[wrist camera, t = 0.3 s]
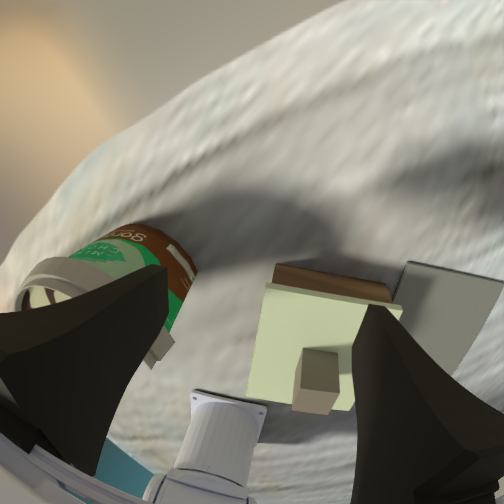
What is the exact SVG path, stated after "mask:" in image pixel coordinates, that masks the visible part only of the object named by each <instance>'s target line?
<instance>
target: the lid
mask: <svg viewBox="0 0 504 504" xmlns="http://www.w3.org/2000/svg"><path fill="white" fill-rule="evenodd" d="M369 304H375V305H381V306H385V307H386V308H387V309H388V310H389V311H390V312H391V313H392V314H393V315H394V316H395V317H396V319H397V320H398V321H399V318H400V316H401V314H402V312H403V310H402V307H401V305H396V304H390V303H384V302H377V301H371V300H365V299H359V298H353V297H347V296H341V295H336V294H330V293H324V292H318V291H313V290H307V289H302V288H296V287H291V286H285V285H280V284H274V283H269V282H266V286H265V292H264V297H263V303H262V309H261V315H260V320H259V326H258V331H257V337H256V343H255V348H254V354H253V359H252V365H251V370H250V375H249V381H248V386H247V391H246V396H248V397H253V398H258V399H264V400H269V401H275V402H281V403H287V404H292V408H291V410H292V411H299V412H306V413H314V414H323V415H328V414H329V412H330V411H331V409H334V410H345V411H349V410H350V408H351V407H352V405H353V404H354V402H355V396H354V388H353V379H352V361H351V359H352V345H353V342H354V340H355V338H356V335H357V333H358V330H359V328H360V325H361V323H362V320H363V318H364V315H365V312H366V310H367V307H368V305H369Z"/></svg>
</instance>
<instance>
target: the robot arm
mask: <svg viewBox="0 0 504 504" xmlns="http://www.w3.org/2000/svg"><path fill="white" fill-rule="evenodd" d="M168 314H169V298H168V271H167V267H165V266H160V265H156V264H150V265H148V266H145V267H143V268H140V269H138V270H136V271H134V272H132V273H129V274H127V275H125V276H123V277H121V278H119V279H117V280H114V281H112V282H110V283H108V284H106V285H103V286H101V287H99V288H96V289H94V290H91V291H89V292H87V293H84V294H82V295H79V296H76V297H74V298H71V299H67V300H64V301H61V302H58V303H55V304H50V305H46V306H42V307H38V308H34V309H29V310H23V311H17V312H9V313H0V504H86V503H84V502H82V501H81V500H79V499H77V498H76V497H74V496H73V495H71V494H69V493H68V492H67V490H66V488H67V489H69V490H71V491H72V492H74V493H76V494H78V495H80V496H81V497H83V498H85V499H87V500H89V501H91V502H93V503H95V504H257V503H256V501H255V499H254V498H253V497H249V496H248V492H249V488H246V485H247V480H248V475H249V471H250V466H251V461H252V457H253V452H254V447H255V446H256V445H257V442H258V439H259V436H260V432H261V429H262V426H263V423H264V420H265V417H266V413H267V407H266V406H263V405H257V404H252V403H247V402H242V401H238V400H233V399H228V398H224V397H220V396H216V395H211V394H207V393H204V392H200V391H196V390H193V391H191V394H190V396H191V414H192V419H191V422H190V424H189V427H188V430H187V432H186V435H185V438H184V440H183V443H182V446H181V448H180V451H179V454H178V456H177V459H176V461H175V464H174V467H173V468H172V467H170V468H169V471H168V474H165V473H159V474H158V475H155V476H153V477H152V479H151V480H150V482H149V484H148V486H147V488H146V490H145V493H144V495H143V498H142V499H140V498H137V497H135V496H132V495H130V494H127V493H125V492H123V491H120V490H118V489H115V488H114V487H111V486H109V485H107V484H105V483H103V482H101V481H99V480H97V479H94V478H92V476H94V475H95V473H96V468H97V465H98V461H99V458H100V454H101V451H102V447H103V444H104V442H105V439H106V436H107V433H108V430H109V427H110V425H111V422H112V420H113V417H114V415H115V412H116V410H117V407H118V405H119V403H120V400H121V398H122V396H123V394H124V392H125V389H126V387H127V385H128V384H129V382H130V380H131V378H132V376H133V375H134V373H135V372H136V370H137V368H138V367H139V365H140V364H141V362H142V361H143V359H144V357H145V356H146V354H147V353H148V351H149V350H150V348H151V346H152V345H153V343H154V342H155V340H156V339H157V337H158V335H159V334H160V332H161V329H162V327H163V325H164V323H165V321H166V318H167V316H168ZM351 361H352V379H353V388H354V396H355V405H356V414H357V427H358V439H357V458H356V468H355V478H354V485H353V491H352V498H351V503H350V504H504V495H503V496H501V497H499V498H497V499H495V496H494V492H496V491H498V490H499V483H498V480H499V479H500V478H501V477H503V476H504V414H503V413H501V412H499V411H498V410H496V409H494V408H493V407H491V406H490V405H488V404H486V403H485V402H483V401H482V400H480V399H479V398H477V397H476V396H475V395H473V394H472V393H471V392H469V391H468V390H467V389H465V388H464V387H463V386H461V385H460V384H459V383H458V382H457V381H455V380H454V379H453V378H452V377H451V376H450V375H449V374H448V373H446V372H445V371H444V370H443V369H442V368H441V367H440V366H439V365H438V364H437V363H436V362H435V361H434V360H433V359H432V358H431V357H430V356H429V355H428V354H427V353H426V352H425V351H424V349H423V348H422V347H421V346H420V345H419V344H418V343H417V342H416V341H415V339H414V338H413V337H412V336H411V335H410V334H409V333H408V331H407V330H406V329H405V328H404V327H403V326H402V324H401V323H400V322H399V321H398V320H397V319H396V317H395V316H394V315H393V314H392V313H391V312H390V311H389V310H388V309H387V308H386V307H385V306H381V305H375V304H369V305H368V307H367V310H366V312H365V315H364V318H363V320H362V323H361V325H360V328H359V330H358V333H357V335H356V338H355V340H354V342H353V345H352V359H351Z"/></svg>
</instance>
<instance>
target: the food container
mask: <svg viewBox="0 0 504 504" xmlns="http://www.w3.org/2000/svg"><path fill="white" fill-rule="evenodd" d="M150 264H156V265H160V266H165V267H167V271H168V298H169V314H168V316H167V318H166V321H165V323H164V325H163V327H162V329H161V332H160V334H159V335H158V337H157V339H156V340H155V342H154V343H153V345H152V346H151V348H150V350H149V351H148V353H147V354H146V356H145V357H144V359H143V361H144V363H145V364H146V365H147V367H148V368H149V369H150V370H151V369H152V368H153V366H154V364H155V363H156V361H161V359H162V358H163V357H164V356H165V354H166V353H167V352H168V350H169V349H170V348H171V347H172V345H173V344H174V343H175V341H174V340H173V338H172V337H171V335H170V334H169V332H170V330H171V328H172V325H173V323H174V321H175V319H176V317H177V315H178V312H179V310H180V308H181V306H182V304H183V302H184V300H185V298H186V295H187V293H188V291H189V289H190V287H191V285H192V283H193V281H194V279H195V277H196V275H197V272H198V271H197V269H196V267H195V265H194V264H193V262H192V260H191V258H190V257H189V256H188V254H187V253H186V252H185V251H184V250H183V249H182V247H181V246H180V245H179V244H178V243H177V242H176V241H175V240H173V239H172V238H170V237H169V236H167V235H166V234H165V233H163V232H162V231H160V230H157V229H154V228H152V227H149V226H146V225H143V224H129V225H125V226H121V227H119V228H117V229H115V230H113V231H112V232H110V233H108V234H106V235H105V236H103V237H101V238H99V239H98V240H96V241H94V242H92V243H91V244H89V245H87V246H86V247H84V248H82V249H81V250H79V251H77V252H76V253H74V254H72V255H71V256H69V257H52V258H48V259H45V260H43V261H41V262H40V263H38V264H37V265H36V266H35V268H34V269H33V270H32V271H31V272H30V274H29V275H28V276H27V278H26V279H25V280H24V281H23V283H22V284H21V286H20V289H19V291H18V294H17V296H16V298H15V300H14V312H17V311H23V310H29V309H34V308H38V307H42V306H46V305H50V304H55V303H58V302H61V301H64V300H67V299H71V298H74V297H76V296H79V295H82V294H84V293H87V292H89V291H91V290H94V289H96V288H99V287H101V286H103V285H106V284H108V283H110V282H112V281H114V280H117V279H119V278H121V277H123V276H125V275H127V274H129V273H132V272H134V271H136V270H138V269H140V268H143V267H145V266H148V265H150Z"/></svg>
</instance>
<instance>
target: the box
mask: <svg viewBox="0 0 504 504" xmlns="http://www.w3.org/2000/svg"><path fill="white" fill-rule="evenodd" d="M272 283H274V284H280V285H285V286H291V287H296V288H302V289H307V290H313V291H318V292H324V293H330V294H336V295H341V296H347V297H353V298H359V299H365V300H371V301H377V302H384V303H390V304H393V302H392V299H391V296H390V294H389V291H388V288H387V286H386V284H384V283H378V282H373V281H367V280H362V279H356V278H351V277H345V276H339V275H334V274H328V273H323V272H317V271H312V270H307V269H301V268H296V267H290V266H285V265H279V264H276V265H275V270H274V274H273V279H272Z"/></svg>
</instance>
